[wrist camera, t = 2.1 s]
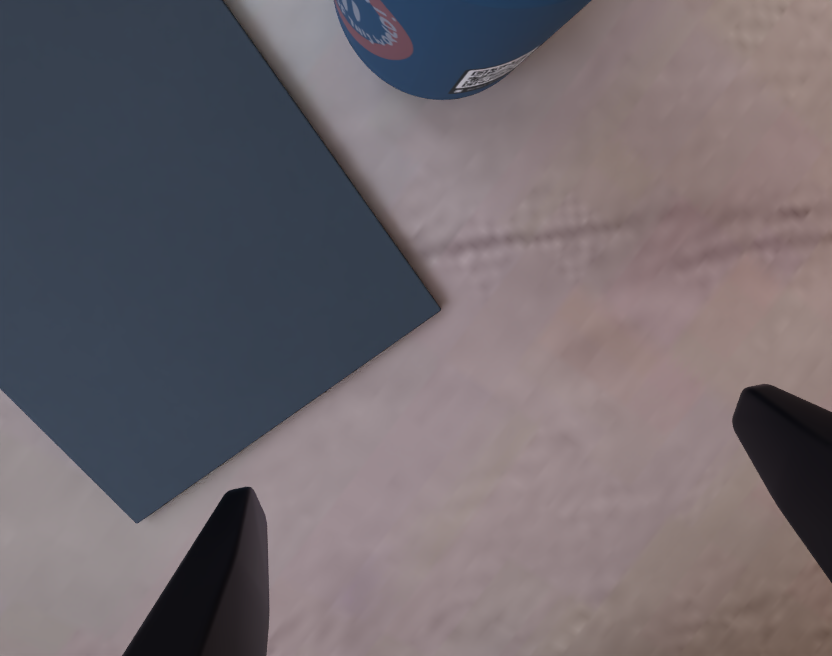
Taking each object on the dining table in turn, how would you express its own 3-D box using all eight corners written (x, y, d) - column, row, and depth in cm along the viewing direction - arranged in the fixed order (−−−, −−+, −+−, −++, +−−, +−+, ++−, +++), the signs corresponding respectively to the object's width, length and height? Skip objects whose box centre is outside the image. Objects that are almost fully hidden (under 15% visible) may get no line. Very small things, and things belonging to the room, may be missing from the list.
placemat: (440, 308, 21) (441, 310, 20) (140, 518, 22) (136, 524, 21) (14, -295, 15) (5, -308, 15) (-357, 23, 16) (-374, 19, 16)
